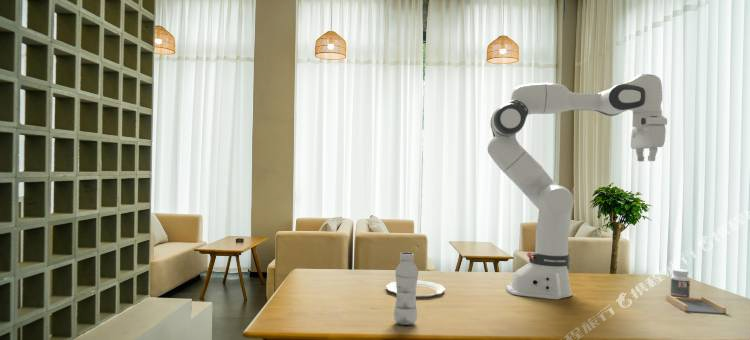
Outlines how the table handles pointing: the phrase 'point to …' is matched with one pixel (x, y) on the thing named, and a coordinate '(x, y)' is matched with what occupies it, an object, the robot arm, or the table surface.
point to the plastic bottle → (406, 290)
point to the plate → (437, 287)
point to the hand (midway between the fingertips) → (645, 161)
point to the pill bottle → (680, 283)
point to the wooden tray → (696, 305)
